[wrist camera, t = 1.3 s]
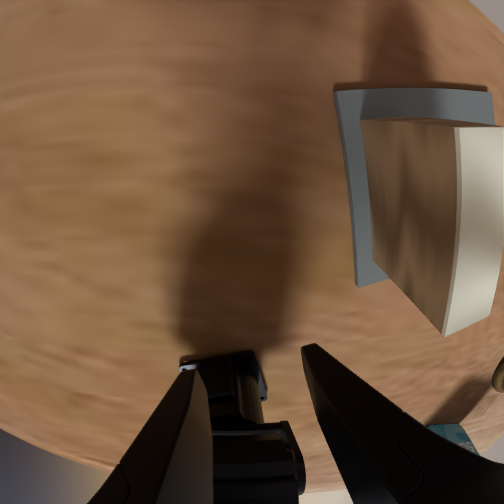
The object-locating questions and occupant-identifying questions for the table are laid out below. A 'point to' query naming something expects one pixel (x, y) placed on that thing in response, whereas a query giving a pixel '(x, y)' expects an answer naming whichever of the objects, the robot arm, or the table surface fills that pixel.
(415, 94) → the mat
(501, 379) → the owl figurine
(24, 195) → the table surface
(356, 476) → the robot arm
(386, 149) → the slab
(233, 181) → the table surface
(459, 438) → the data package
